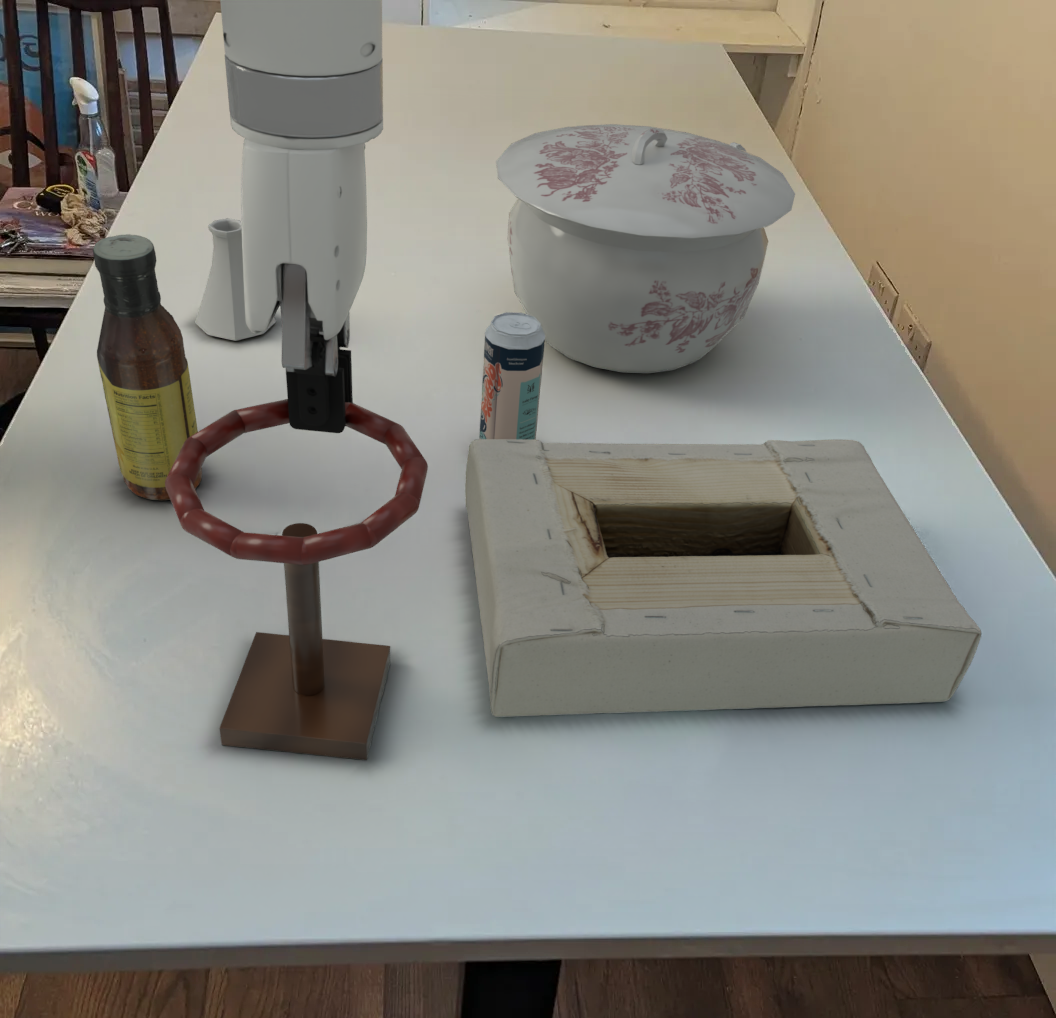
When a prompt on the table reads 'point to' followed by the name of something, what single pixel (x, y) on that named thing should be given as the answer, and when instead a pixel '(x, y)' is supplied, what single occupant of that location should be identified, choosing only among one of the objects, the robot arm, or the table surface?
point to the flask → (225, 285)
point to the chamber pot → (637, 240)
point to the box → (703, 579)
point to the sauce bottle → (142, 367)
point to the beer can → (511, 377)
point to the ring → (289, 546)
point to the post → (306, 681)
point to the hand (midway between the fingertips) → (321, 417)
